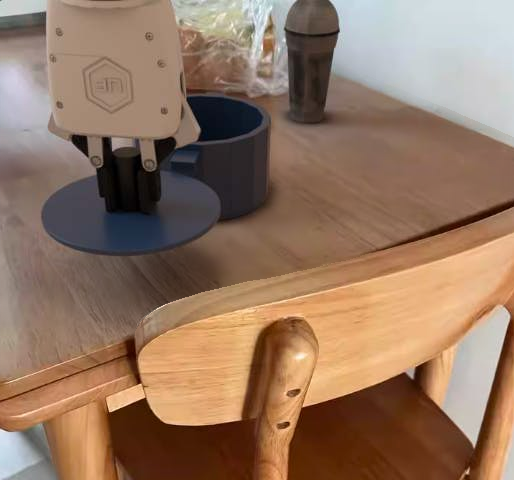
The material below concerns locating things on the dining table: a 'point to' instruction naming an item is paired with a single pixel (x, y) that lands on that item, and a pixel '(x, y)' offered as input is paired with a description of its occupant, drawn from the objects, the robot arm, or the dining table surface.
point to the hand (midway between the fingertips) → (131, 204)
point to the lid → (130, 212)
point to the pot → (226, 151)
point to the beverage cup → (310, 56)
